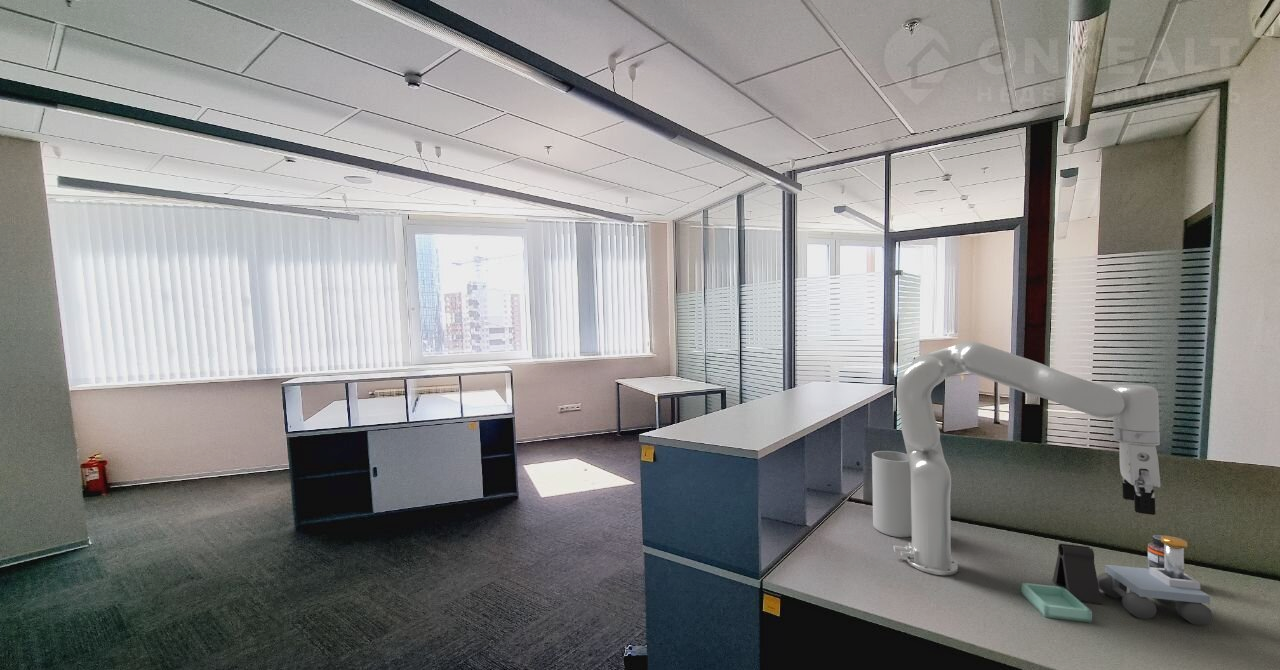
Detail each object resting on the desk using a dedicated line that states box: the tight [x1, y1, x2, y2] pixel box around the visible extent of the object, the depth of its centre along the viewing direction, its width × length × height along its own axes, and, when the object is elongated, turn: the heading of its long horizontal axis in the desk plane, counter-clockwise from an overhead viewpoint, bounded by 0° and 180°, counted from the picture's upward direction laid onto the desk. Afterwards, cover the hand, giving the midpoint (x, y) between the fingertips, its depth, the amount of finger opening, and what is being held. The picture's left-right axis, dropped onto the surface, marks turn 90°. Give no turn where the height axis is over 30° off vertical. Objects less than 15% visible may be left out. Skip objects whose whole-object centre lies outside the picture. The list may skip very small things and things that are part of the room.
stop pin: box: [1161, 535, 1188, 579], centre depth 107 cm, size 4×4×10 cm
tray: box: [1020, 582, 1093, 623], centre depth 109 cm, size 9×10×3 cm
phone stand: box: [1052, 543, 1103, 605], centre depth 115 cm, size 9×6×12 cm, turn 159°
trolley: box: [1097, 564, 1213, 626], centre depth 108 cm, size 11×15×9 cm
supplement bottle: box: [1147, 534, 1164, 569], centre depth 119 cm, size 6×6×11 cm
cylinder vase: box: [871, 450, 912, 538], centre depth 152 cm, size 12×12×25 cm
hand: (1138, 506), depth 109 cm, fingers open, 9 cm apart
